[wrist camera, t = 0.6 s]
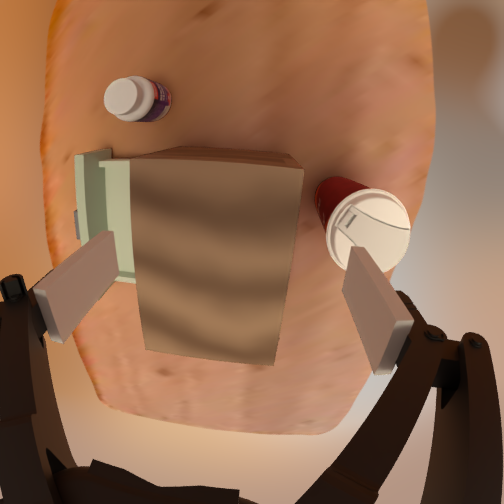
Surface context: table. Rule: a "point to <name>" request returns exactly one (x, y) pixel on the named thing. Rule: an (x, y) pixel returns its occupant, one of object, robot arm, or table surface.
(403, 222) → the coffee cup
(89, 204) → the drawer
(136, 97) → the pill bottle
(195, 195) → the housing
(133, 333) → the table surface
